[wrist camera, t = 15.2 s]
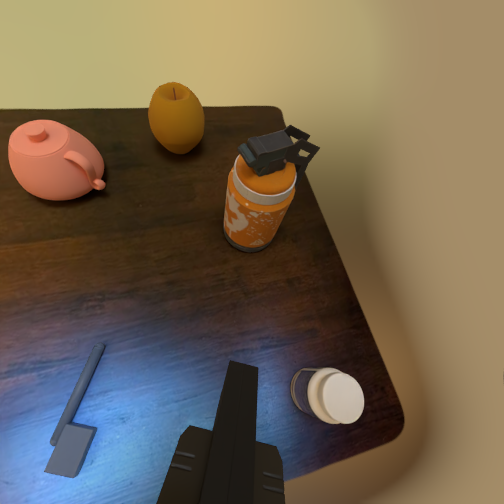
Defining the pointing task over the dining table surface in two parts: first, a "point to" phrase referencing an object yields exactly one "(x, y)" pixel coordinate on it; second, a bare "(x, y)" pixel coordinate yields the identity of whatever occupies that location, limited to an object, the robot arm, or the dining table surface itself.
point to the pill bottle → (327, 395)
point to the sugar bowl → (54, 161)
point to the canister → (264, 186)
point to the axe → (73, 428)
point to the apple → (176, 117)
